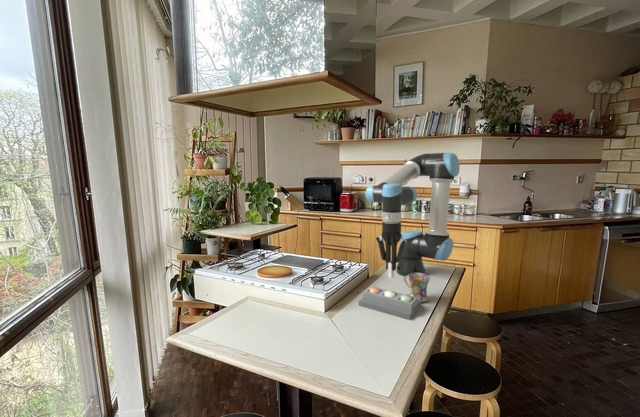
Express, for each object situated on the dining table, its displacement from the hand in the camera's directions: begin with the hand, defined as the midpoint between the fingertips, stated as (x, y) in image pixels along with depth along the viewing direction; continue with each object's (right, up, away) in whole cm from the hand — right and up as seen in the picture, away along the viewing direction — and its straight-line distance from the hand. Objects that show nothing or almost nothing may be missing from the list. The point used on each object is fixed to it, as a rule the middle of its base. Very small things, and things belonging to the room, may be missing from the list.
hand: (390, 277), depth 128 cm
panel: (0, -12, +1) cm, 12 cm away
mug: (+13, -11, +8) cm, 19 cm away
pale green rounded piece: (+5, -10, -4) cm, 12 cm away
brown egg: (-6, -9, +5) cm, 12 cm away
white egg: (0, -10, 0) cm, 10 cm away
